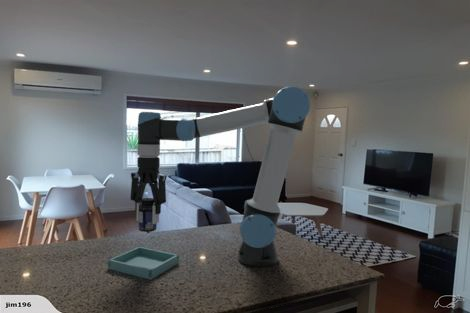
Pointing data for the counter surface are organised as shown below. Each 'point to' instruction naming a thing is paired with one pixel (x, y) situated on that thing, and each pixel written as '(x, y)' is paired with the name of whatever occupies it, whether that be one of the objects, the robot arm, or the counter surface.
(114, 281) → the counter surface
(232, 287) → the counter surface
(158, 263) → the tray
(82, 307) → the counter surface
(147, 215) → the pill bottle
